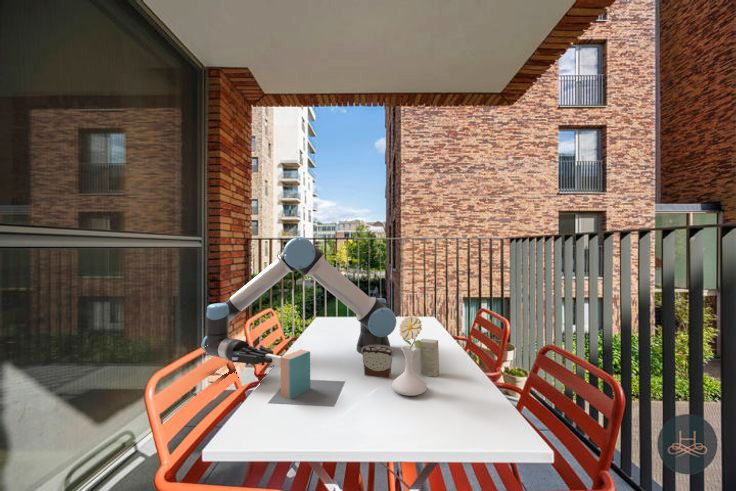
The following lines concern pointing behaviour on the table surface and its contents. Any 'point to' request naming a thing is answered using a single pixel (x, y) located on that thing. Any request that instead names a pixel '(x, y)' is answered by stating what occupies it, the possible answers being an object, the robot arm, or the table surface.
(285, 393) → the salmon orange block
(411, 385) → the flower in vase
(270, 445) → the table surface
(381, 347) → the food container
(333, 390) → the mat
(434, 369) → the skincare box
